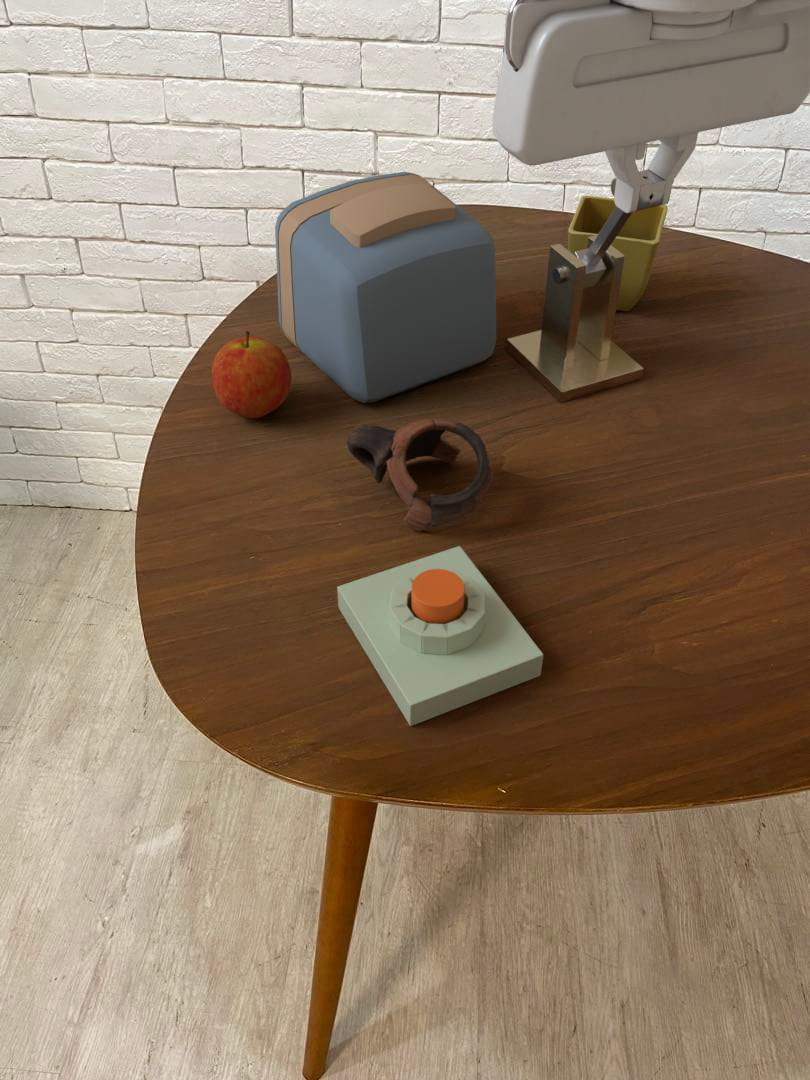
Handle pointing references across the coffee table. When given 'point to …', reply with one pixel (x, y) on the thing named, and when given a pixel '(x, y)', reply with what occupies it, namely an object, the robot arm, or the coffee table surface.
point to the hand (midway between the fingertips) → (640, 205)
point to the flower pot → (621, 242)
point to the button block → (438, 639)
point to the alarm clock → (385, 284)
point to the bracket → (577, 330)
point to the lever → (602, 244)
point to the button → (437, 596)
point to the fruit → (251, 376)
